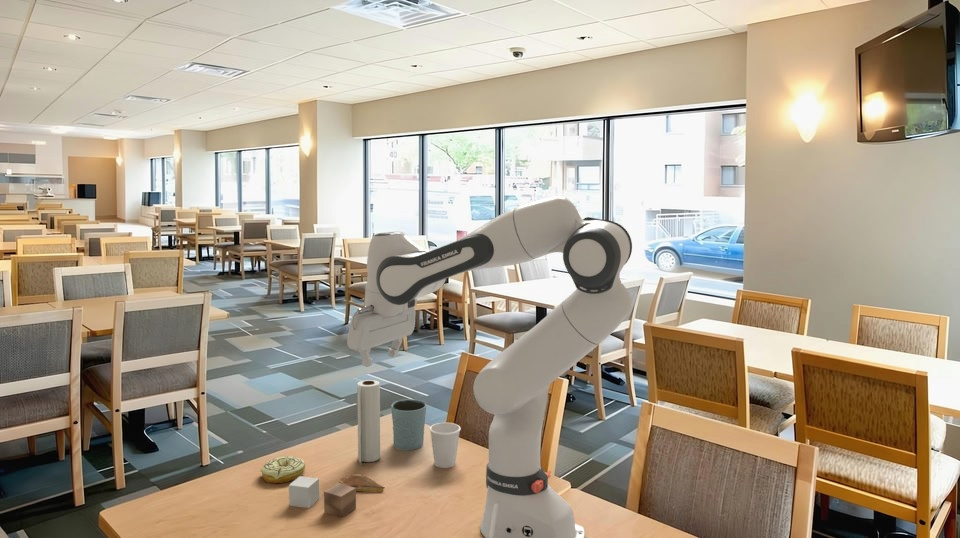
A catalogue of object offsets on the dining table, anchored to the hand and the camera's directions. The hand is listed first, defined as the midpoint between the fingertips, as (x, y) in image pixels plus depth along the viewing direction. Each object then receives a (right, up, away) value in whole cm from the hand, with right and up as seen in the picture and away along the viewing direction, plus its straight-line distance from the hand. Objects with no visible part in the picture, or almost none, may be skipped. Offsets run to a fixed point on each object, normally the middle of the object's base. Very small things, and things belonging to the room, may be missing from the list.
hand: (380, 360), depth 147 cm
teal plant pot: (+2, -30, +39) cm, 49 cm away
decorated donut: (-28, -32, +18) cm, 46 cm away
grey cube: (-18, -34, +3) cm, 39 cm away
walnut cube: (-9, -34, -1) cm, 35 cm away
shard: (-6, -33, +13) cm, 36 cm away
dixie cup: (+13, -32, +26) cm, 43 cm away
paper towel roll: (-8, -31, +28) cm, 43 cm away
